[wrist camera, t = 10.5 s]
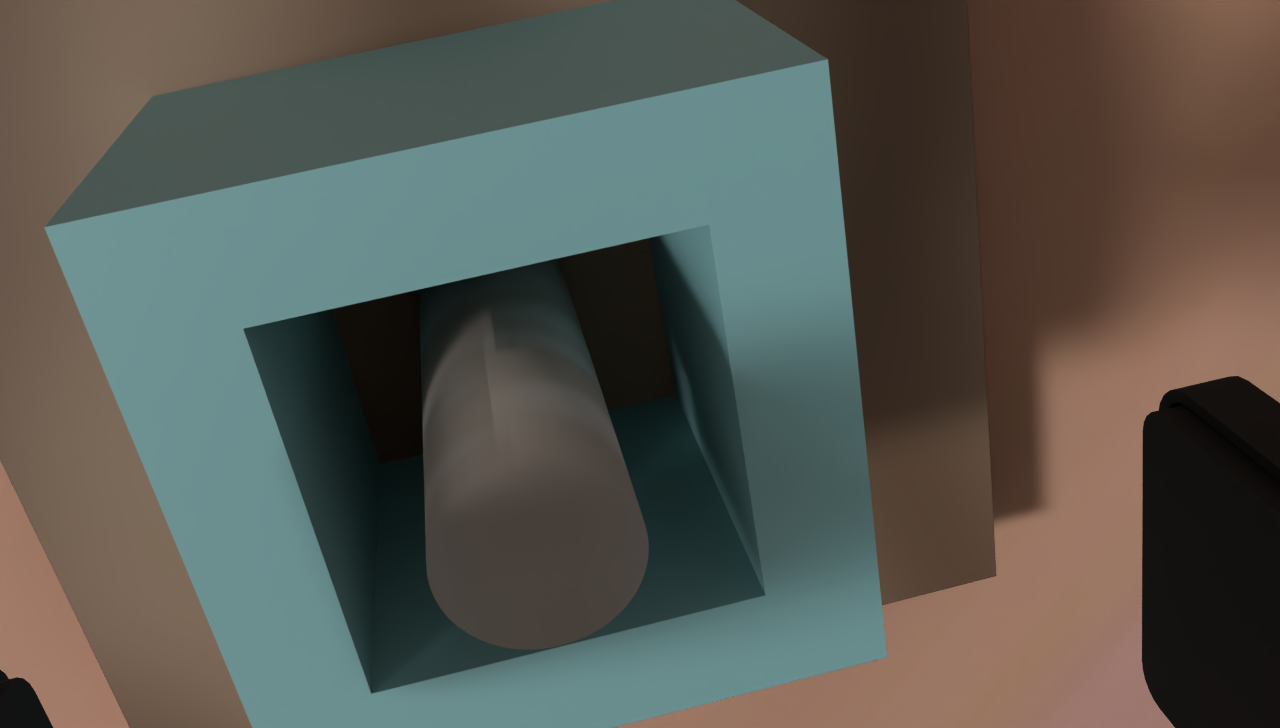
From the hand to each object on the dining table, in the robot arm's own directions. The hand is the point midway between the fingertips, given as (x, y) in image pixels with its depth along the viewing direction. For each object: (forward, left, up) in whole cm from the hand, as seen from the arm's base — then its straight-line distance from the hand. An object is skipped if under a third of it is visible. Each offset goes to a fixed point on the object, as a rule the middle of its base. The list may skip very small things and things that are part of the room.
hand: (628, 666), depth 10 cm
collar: (+1, 0, -8) cm, 8 cm away
